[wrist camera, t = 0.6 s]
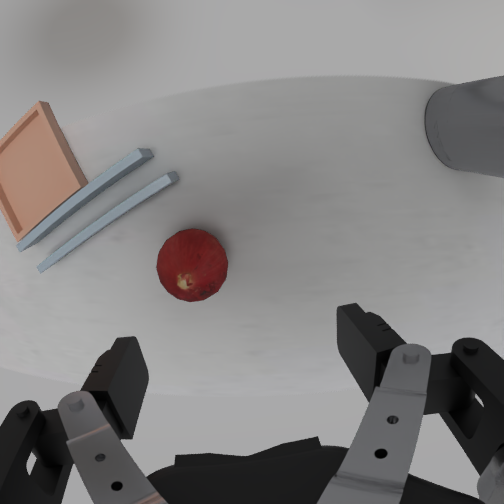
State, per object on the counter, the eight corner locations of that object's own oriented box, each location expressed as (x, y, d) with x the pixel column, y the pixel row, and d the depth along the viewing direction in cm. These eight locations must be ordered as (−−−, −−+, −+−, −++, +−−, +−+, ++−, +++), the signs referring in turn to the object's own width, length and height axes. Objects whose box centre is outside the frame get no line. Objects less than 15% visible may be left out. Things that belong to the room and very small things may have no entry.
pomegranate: (241, 260, 30) (242, 297, 22) (191, 291, 30) (178, 335, 23) (204, 208, 28) (193, 229, 20) (155, 243, 29) (128, 274, 21)
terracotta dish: (48, 102, 24) (38, 100, 22) (89, 185, 27) (80, 187, 25) (-10, 162, 25) (-19, 163, 23) (26, 237, 28) (17, 242, 26)
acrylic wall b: (149, 148, 26) (137, 148, 23) (153, 156, 26) (142, 156, 23) (34, 236, 28) (16, 245, 24) (37, 242, 28) (19, 252, 25)
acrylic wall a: (175, 171, 27) (166, 173, 23) (179, 179, 27) (171, 182, 24) (53, 255, 28) (36, 266, 25) (57, 262, 29) (40, 273, 25)
